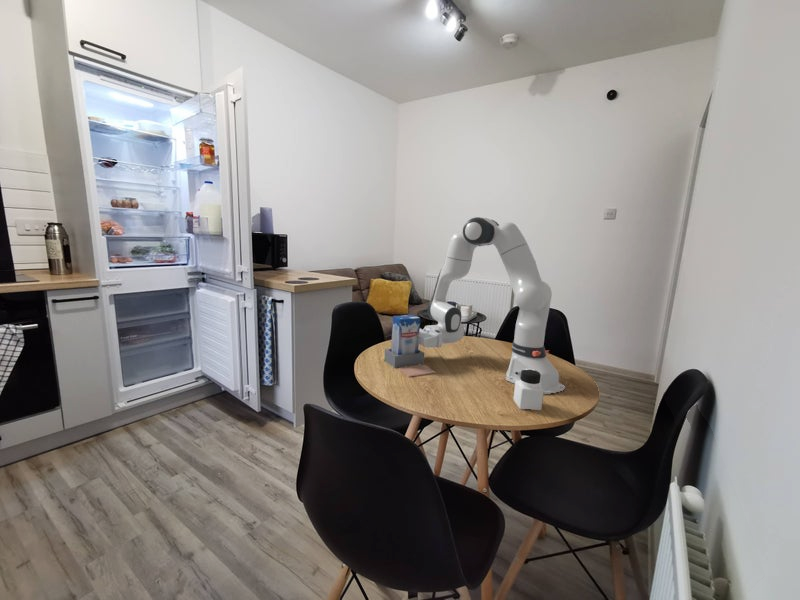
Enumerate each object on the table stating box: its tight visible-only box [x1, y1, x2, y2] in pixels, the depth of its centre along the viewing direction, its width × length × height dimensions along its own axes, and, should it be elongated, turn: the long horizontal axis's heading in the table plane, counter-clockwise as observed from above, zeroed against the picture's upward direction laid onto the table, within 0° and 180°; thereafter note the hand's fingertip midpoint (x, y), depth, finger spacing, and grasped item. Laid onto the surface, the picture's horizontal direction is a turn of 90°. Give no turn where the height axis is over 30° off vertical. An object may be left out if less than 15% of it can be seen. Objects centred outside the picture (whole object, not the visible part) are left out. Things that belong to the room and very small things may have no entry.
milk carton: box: [390, 314, 421, 355], centre depth 148 cm, size 10×6×20 cm, turn 120°
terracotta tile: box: [397, 363, 436, 378], centre depth 140 cm, size 9×12×1 cm
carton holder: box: [383, 348, 425, 369], centre depth 149 cm, size 10×14×5 cm
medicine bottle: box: [512, 369, 545, 411], centre depth 114 cm, size 7×7×12 cm
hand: (403, 337), depth 147 cm, fingers closed on milk carton
